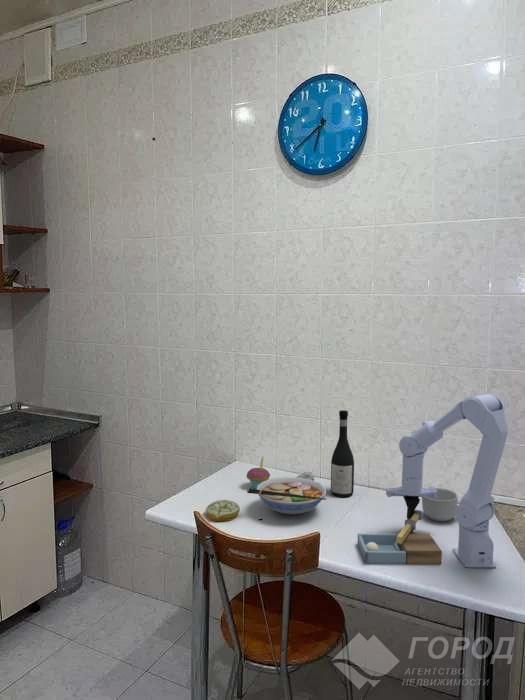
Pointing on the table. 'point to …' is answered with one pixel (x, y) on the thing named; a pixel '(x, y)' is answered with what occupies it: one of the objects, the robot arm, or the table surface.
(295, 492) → the ramen bowl
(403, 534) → the lever
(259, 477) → the cupcake
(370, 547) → the ball
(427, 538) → the block
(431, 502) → the teacup
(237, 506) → the decorated donut
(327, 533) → the table surface
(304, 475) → the frog figurine
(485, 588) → the table surface
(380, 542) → the shallow square tray
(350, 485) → the wine bottle
